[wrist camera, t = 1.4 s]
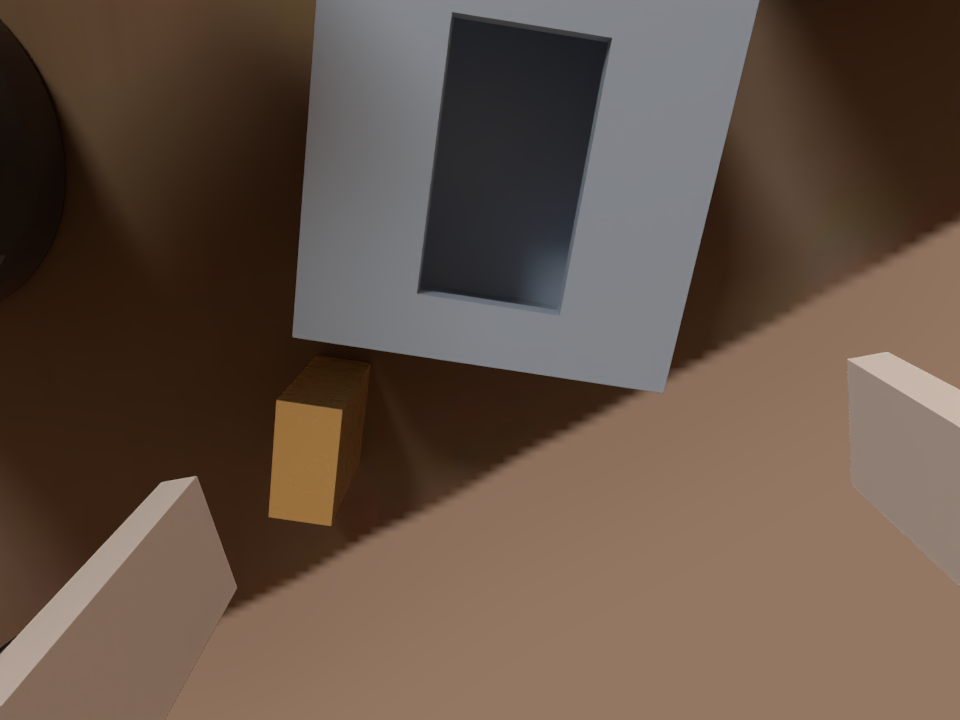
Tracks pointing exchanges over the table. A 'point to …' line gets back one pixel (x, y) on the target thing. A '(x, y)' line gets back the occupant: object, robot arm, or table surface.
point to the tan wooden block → (318, 439)
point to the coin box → (514, 178)
